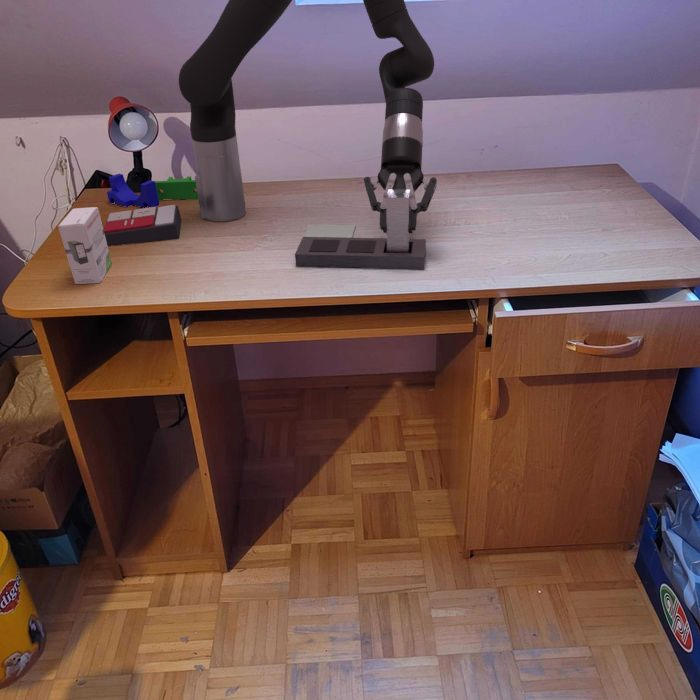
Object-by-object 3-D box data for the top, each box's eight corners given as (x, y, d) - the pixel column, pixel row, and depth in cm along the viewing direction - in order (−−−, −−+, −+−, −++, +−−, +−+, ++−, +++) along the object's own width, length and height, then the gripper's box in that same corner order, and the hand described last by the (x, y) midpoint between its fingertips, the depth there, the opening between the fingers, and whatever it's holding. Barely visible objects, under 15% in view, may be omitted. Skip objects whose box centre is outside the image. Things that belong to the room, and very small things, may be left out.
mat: (299, 246, 134) (299, 244, 133) (308, 226, 142) (308, 224, 142) (349, 247, 132) (349, 245, 132) (355, 227, 141) (355, 225, 140)
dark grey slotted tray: (295, 266, 126) (294, 253, 125) (303, 248, 133) (302, 236, 131) (424, 269, 123) (424, 256, 122) (425, 250, 130) (425, 238, 128)
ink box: (87, 264, 130) (71, 206, 124) (113, 263, 130) (98, 205, 124) (74, 285, 123) (56, 225, 117) (101, 283, 123) (84, 223, 117)
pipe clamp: (206, 194, 161) (203, 175, 159) (203, 200, 158) (200, 181, 156) (160, 195, 162) (156, 176, 159) (156, 201, 159) (152, 182, 156)
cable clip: (109, 204, 158) (103, 179, 155) (124, 197, 161) (118, 173, 158) (145, 212, 153) (139, 187, 149) (159, 206, 156) (154, 181, 153)
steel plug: (386, 263, 126) (386, 197, 118) (388, 254, 129) (388, 189, 122) (408, 264, 125) (408, 197, 118) (409, 255, 128) (410, 189, 121)
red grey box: (107, 211, 145) (177, 201, 146) (113, 230, 147) (181, 219, 148) (100, 231, 135) (174, 220, 137) (106, 250, 138) (179, 239, 139)
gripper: (362, 134, 122) (356, 223, 119) (440, 134, 121) (437, 224, 117) (366, 154, 130) (361, 238, 126) (440, 154, 128) (436, 239, 125)
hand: (397, 231), depth 122 cm, fingers closed on steel plug, 4 cm apart
